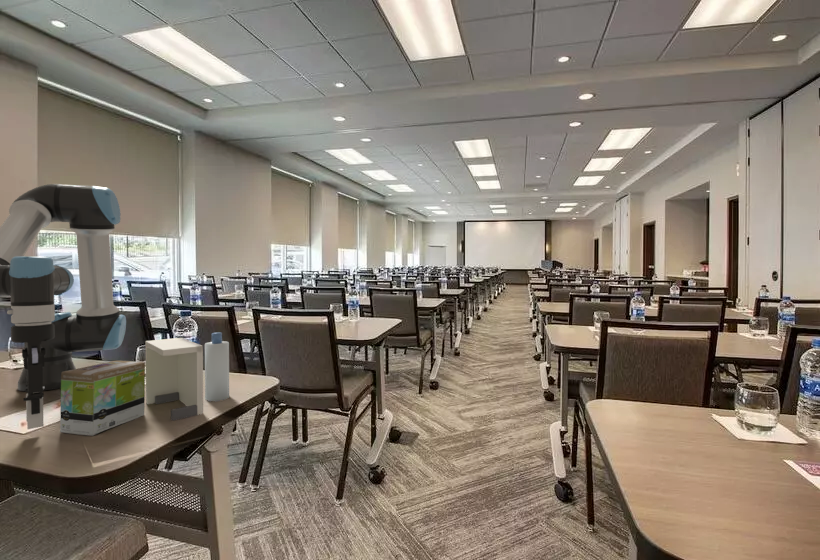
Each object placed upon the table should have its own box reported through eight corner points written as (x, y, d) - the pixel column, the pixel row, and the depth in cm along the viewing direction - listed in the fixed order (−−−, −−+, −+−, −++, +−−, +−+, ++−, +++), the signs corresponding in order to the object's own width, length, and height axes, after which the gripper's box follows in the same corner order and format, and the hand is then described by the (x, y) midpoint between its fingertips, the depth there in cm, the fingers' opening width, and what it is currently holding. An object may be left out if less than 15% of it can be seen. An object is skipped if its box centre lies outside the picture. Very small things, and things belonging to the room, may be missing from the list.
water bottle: (202, 399, 128) (201, 333, 128) (224, 394, 133) (223, 330, 133) (209, 404, 124) (209, 335, 123) (232, 399, 128) (232, 333, 128)
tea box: (94, 437, 99) (93, 373, 99) (59, 433, 101) (58, 371, 101) (146, 415, 114) (145, 360, 114) (114, 413, 116) (114, 358, 116)
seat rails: (154, 404, 123) (154, 395, 123) (177, 400, 127) (177, 391, 127) (172, 420, 110) (172, 410, 110) (197, 415, 114) (197, 405, 114)
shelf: (146, 405, 122) (145, 341, 122) (182, 398, 129) (181, 337, 129) (163, 422, 109) (163, 350, 108) (203, 413, 115) (202, 345, 115)
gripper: (10, 321, 102) (12, 417, 103) (11, 329, 88) (13, 439, 89) (51, 318, 107) (52, 410, 108) (57, 326, 94) (59, 430, 94)
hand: (34, 423), depth 98 cm, fingers open, 6 cm apart
